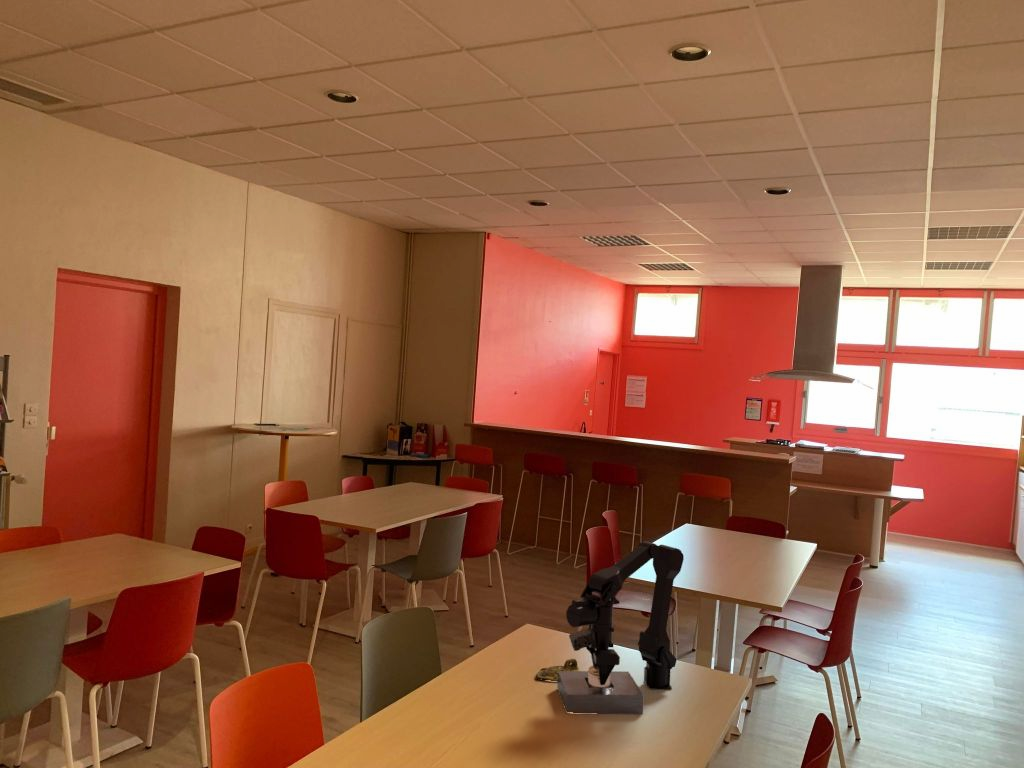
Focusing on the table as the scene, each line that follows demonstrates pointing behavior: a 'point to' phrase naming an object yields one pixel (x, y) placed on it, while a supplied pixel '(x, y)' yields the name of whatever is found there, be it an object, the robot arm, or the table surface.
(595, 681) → the end cover
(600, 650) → the robot arm
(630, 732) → the table surface
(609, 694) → the housing
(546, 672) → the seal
